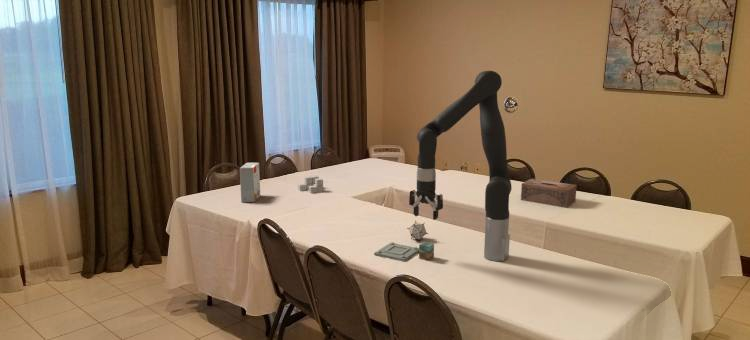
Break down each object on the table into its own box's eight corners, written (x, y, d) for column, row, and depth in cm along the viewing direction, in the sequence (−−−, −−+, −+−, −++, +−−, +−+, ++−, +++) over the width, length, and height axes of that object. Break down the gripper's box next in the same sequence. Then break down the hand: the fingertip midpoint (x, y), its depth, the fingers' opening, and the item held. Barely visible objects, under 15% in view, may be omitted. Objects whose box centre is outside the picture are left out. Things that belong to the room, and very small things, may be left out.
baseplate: (419, 250, 227) (419, 247, 226) (404, 261, 215) (404, 257, 215) (390, 244, 234) (390, 241, 234) (374, 255, 222) (374, 251, 222)
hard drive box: (254, 202, 300) (252, 167, 296) (241, 202, 301) (238, 167, 296) (260, 195, 316) (259, 162, 311) (248, 195, 316) (246, 162, 311)
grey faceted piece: (416, 248, 239) (407, 235, 233) (410, 236, 246) (401, 222, 240) (433, 239, 239) (425, 225, 233) (427, 227, 246) (419, 213, 240)
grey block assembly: (298, 189, 328) (297, 177, 327) (316, 187, 333) (316, 175, 332) (304, 194, 318) (303, 181, 316) (323, 192, 323) (323, 179, 321)
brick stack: (433, 257, 220) (434, 243, 218) (429, 260, 216) (429, 246, 214) (423, 255, 222) (424, 241, 221) (419, 258, 218) (419, 244, 217)
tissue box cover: (575, 202, 298) (576, 185, 296) (566, 208, 287) (567, 190, 285) (530, 195, 314) (531, 178, 312) (520, 200, 303) (521, 183, 301)
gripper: (446, 178, 212) (445, 218, 216) (415, 174, 220) (415, 212, 224) (437, 182, 206) (436, 223, 210) (405, 178, 214) (405, 216, 218)
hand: (425, 217), depth 217 cm, fingers open, 8 cm apart
